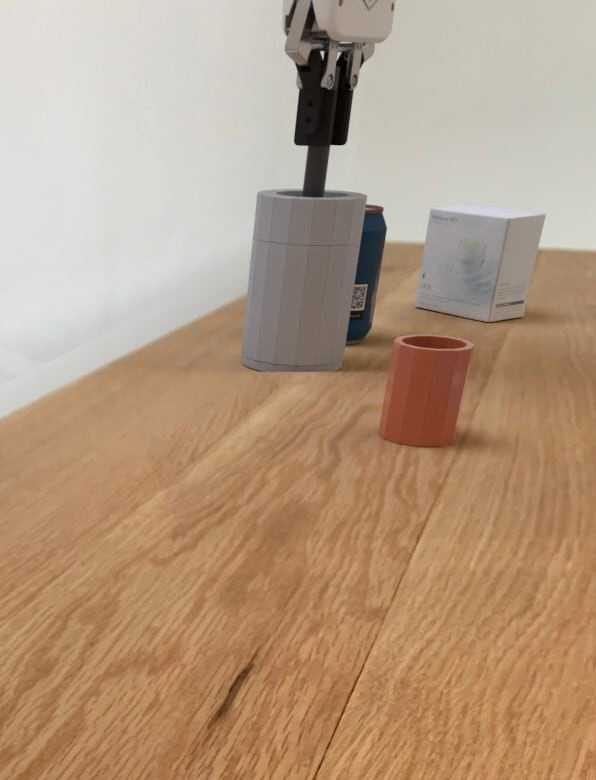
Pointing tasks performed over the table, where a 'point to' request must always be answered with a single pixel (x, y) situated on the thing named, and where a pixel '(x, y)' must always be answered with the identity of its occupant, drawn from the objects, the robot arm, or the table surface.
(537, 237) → the cosmetics box
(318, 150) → the dark grey rod
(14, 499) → the table surface
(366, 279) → the soda can
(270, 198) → the grey cylindrical canister
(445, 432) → the brush pot
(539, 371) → the table surface
